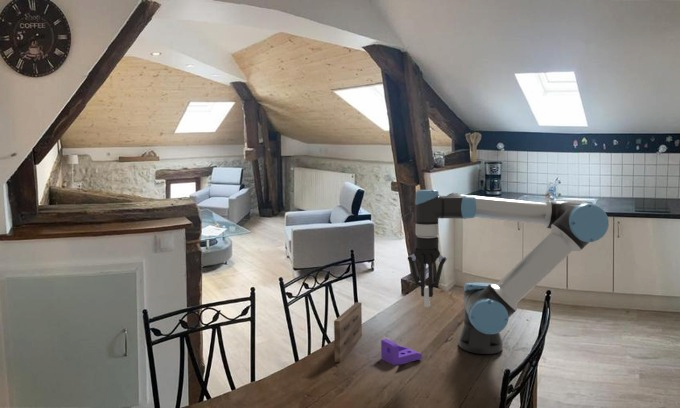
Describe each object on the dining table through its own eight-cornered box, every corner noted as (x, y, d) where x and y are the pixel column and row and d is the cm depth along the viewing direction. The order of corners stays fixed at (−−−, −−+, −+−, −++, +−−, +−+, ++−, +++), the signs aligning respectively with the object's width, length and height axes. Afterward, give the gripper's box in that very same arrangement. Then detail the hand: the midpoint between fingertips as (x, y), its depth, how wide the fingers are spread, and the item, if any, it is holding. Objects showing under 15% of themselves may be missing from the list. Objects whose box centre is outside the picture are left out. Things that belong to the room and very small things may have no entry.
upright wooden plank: (362, 339, 188) (361, 302, 187) (340, 362, 166) (340, 321, 165) (356, 338, 189) (356, 302, 188) (334, 361, 166) (334, 320, 165)
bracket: (393, 366, 163) (393, 345, 162) (381, 359, 169) (381, 339, 168) (421, 358, 169) (421, 338, 168) (409, 352, 175) (408, 333, 174)
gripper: (448, 235, 166) (448, 304, 168) (409, 234, 171) (410, 301, 172) (445, 238, 159) (445, 310, 161) (405, 237, 164) (405, 307, 165)
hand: (427, 306), depth 167 cm, fingers closed
